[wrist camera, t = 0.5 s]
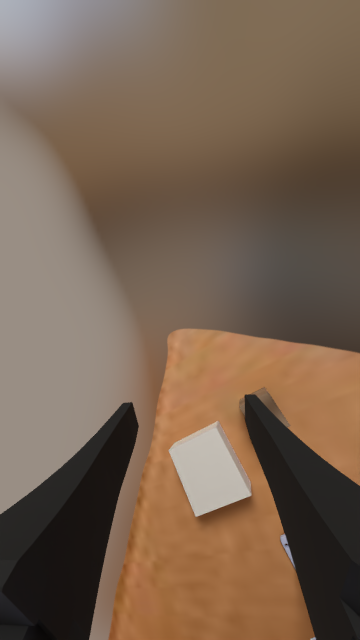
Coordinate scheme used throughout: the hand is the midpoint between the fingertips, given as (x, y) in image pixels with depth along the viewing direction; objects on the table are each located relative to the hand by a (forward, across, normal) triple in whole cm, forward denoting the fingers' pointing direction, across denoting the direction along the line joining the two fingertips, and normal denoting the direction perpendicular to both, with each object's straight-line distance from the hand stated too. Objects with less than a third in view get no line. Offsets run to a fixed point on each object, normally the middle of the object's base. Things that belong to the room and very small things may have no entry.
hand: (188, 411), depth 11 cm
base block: (+13, -1, +26) cm, 29 cm away
